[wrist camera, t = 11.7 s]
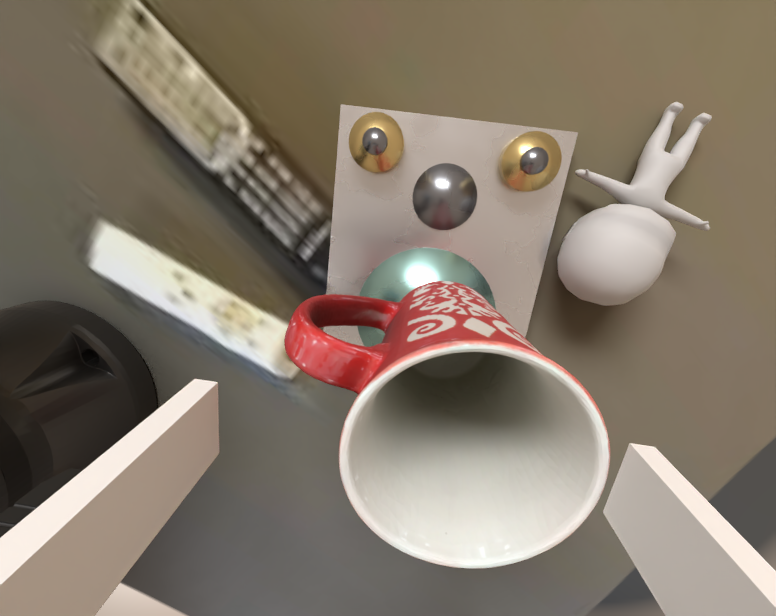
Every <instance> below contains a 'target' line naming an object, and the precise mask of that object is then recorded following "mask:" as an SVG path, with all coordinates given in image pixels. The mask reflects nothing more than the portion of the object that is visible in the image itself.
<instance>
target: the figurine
mask: <svg viewBox="0 0 776 616" xmlns="http://www.w3.org/2000/svg"><path fill="white" fill-rule="evenodd" d="M682 109H683V105H682V104H681V103H678V102H674V103H672V104H671V105H669V106H668V107H667V108H666V109H665V110H664V113H663V115H662V118H661V120H660V122H659V124H658V126H657V128H656V129H655V131H654V132H653V134H652V135H651V137H650V138H649V140H648V141H647V143H646V145H645V147H644V149H643V151H642V154H641V156H640V158H639V160H638V161H637V169H636V172H635V175H634V177H633V180H632V181H631V183H630V185H627V184H624V183H621V182H619V181H616V180H613V179H611V178H608V177H605V176H602V175H599V174H596V173H593V172H589V170H588V169H586V170H576V171H575V174H576V175H577V176H579V177H581V178H583V179H585V180H587V181H589V182H591V183H593V184H595V185H597V186H599V187H600V188H602V189H603V190H605V191H606V192H608V193H609V194H611V195H612V196H613V197H614V198H616V199H617V200H618V201H619V202H620V203H622V204H610V205H608V206H607V207H603V208H599V209H595V210H593V211H591V212H590V213H588V214H586V215H585V216H583V217H581V218H579V219H578V221H577V222H576V223H574V224H573V225H572V226H571V228H570V229H569V230H568V232H567V233H566V235H565V236H564V237H563V239H562V241H563V243H562V245H561V248H560V251H559V255H558V258H557V265H558V275H559V277H560V279H561V281H562V282H563V284H564V286H565V287H566V289H567V290H568V291H570V292H571V293H572V294H574V295H575V296H576V297H578V298H579V299H581V300H585V301H589V302H592V303H596V304H600V305H604V306H608V305H620V304H625V303H627V302H628V301H630V300H632V299H633V298H635V297H637V296H638V295H640V294H642V293H643V292H645V291H647V290H648V289H649V288H650V287H651V286H652V284H653V283H654V282H655V281H656V279H657V278H658V277H659V276H660V274H661V272H662V269H663V266H664V263H665V260H666V258H667V255H668V253H669V251H670V248H671V246H672V244H673V241H674V238H675V235H676V232H675V231H674V229H673V227H672V226H671V224H670V223H669V221H667V220H666V219H664V218H663V217H665V218H669V219H673V220H676V221H679V222H681V223H684V224H687V225H690V226H692V227H695V228H698V229H700V230H705V231H708V230H709V229H710V227H709V225H708V224H709V222H708V221H702V220H701V219H699V218H697V217H695V216H693V215H692V214H690V213H688V212H686V211H684V210H682V209H680V208H678V207H676V206H674V205H672V204H670V203H668V202H667V201H665V193H666V191H667V189H668V187H669V185H670V184H671V183H672V181H673V180H674V179H675V178H676V176H677V175H678V174H679V173H680V172H681V171H682V169H683V168H684V167H685V165H686V162H687V161H688V159H689V157H690V155H691V153H692V151H693V148H694V146H695V143H696V141H697V139H698V136H699V134H700V132H701V130H702V128H703V127H704V126H705V125H707V124H708V123H709V122H710V121H711V115H709V114H706V113H702V114H700V115H699V116H697V117H695V118H694V119H693V120H692V121H691V123H690V125H689V128H688V130H687V131H686V133H685V134H684V135H683V136H682V137H681V138H680V139H679V140H678V141H677V143H676V144H675V145H674V147H673V148H672V150H671V152H670V153H667V152H665V151H664V148H665V146H666V144H667V141H668V139H669V136H670V132H671V127H672V124H673V121H674V119H675V117H676V116H677V115H678V114H679V113H680V112H681V111H682Z"/></svg>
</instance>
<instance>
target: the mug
mask: <svg viewBox="0 0 776 616" xmlns="http://www.w3.org/2000/svg"><path fill="white" fill-rule="evenodd" d="M328 326H367V327H374V328H378V329H380V330H382V331H384V333H385V336H384V338H383V341H382V343H381V344H377V345H374V346H372V347H365V346H360V345H355V344H351V343H348V342H345V341H343V340H340V339H337V338H335V337H333V336H331V335H329V334H327V333H325V332H324V331H323V330H321V329H320V327H328ZM285 349H286V353H287V355H288V356H289V358H290V359H291V360H292V361H293V363H294V364H295V365H296V366H297V367H299V368H300V369H301V370H302V371H303V372H305V373H306V374H308V375H310V376H312V377H313V378H315V379H318V380H320V381H323V382H325V383H328V384H331V385H334V386H338V387H342V388H346V389H348V390H351V391H354V392H356V393H357V394H358V396H357V398H356V399H355V401H354V403H353V405H352V407H351V408H350V410H349V412H348V414H347V417H346V419H345V422H344V426H343V429H342V433H341V438H340V444H339V468H340V476H341V479H342V483H343V487H344V489H345V492H346V494H347V496H348V498H349V500H350V502H351V504H352V506H353V508H354V509H355V511H356V512H357V514H358V515H359V517H360V518H361V519H362V520H363V522H364V523H365V524H366V525H367V526H368V527H369V528H370V529H371V530H372V531H373V532H374V533H376V534H377V535H378V536H379V537H380V538H381V539H383V540H384V541H386V542H387V543H389V544H390V545H392V546H393V547H395V548H397V549H399V550H400V551H402V552H404V553H406V554H408V555H411V556H413V557H415V558H418V559H421V560H424V561H427V562H431V563H434V564H439V565H444V566H449V567H455V568H492V567H498V566H503V565H508V564H512V563H516V562H520V561H523V560H526V559H529V558H531V557H534V556H536V555H538V554H540V553H543V552H545V551H547V550H549V549H551V548H552V547H554V546H556V545H557V544H559V543H560V542H562V541H563V540H564V539H566V538H567V537H569V536H570V535H571V534H572V533H573V532H574V531H575V530H576V529H577V528H578V527H579V526H580V525H581V524H582V523H583V522H584V521H585V519H586V518H587V517H588V516H589V514H590V513H591V512H592V510H593V508H594V507H595V505H596V504H597V502H598V501H599V498H600V496H601V494H602V492H603V489H604V486H605V483H606V480H607V476H608V470H609V464H610V442H609V438H608V433H607V429H606V426H605V423H604V420H603V417H602V415H601V413H600V411H599V409H598V407H597V405H596V403H595V402H594V400H593V398H592V397H591V395H590V394H589V392H588V391H587V390H586V389H585V388H584V387H583V385H582V384H581V383H580V382H579V381H578V380H577V379H576V378H575V377H574V376H573V375H571V374H570V373H569V372H567V371H566V370H565V369H564V368H563V367H561V366H560V365H558V364H557V363H555V362H554V361H552V360H550V359H548V358H547V357H545V356H543V355H542V354H541V353H540V352H539V351H538V350H537V349H536V348H535V347H534V346H533V345H532V344H531V343H530V342H528V341H527V340H526V339H525V338H524V337H523V336H522V335H521V334H520V333H519V332H518V331H517V330H516V329H515V328H514V327H513V326H511V325H510V323H509V322H508V321H507V320H506V319H505V318H504V317H503V316H502V315H501V314H499V313H498V312H497V311H496V310H495V309H494V308H493V307H492V306H491V305H490V304H489V302H488V301H487V300H486V299H485V298H484V297H483V296H482V295H481V294H479V293H478V292H477V291H475V290H474V289H472V288H470V287H468V286H466V285H463V284H460V283H457V282H451V281H436V282H430V283H426V284H424V285H421V286H419V287H417V288H415V289H413V290H412V291H410V292H409V293H408V294H407V295H406V296H404V297H403V299H402V300H401V301H400V302H392V301H386V300H382V299H377V298H370V297H363V296H354V295H340V294H329V295H320V296H315V297H312V298H310V299H307V300H306V301H304V302H303V303H301V304H300V305H299V306H298V307H297V309H296V310H295V312H294V314H293V315H292V317H291V320H290V322H289V325H288V328H287V331H286V335H285Z"/></svg>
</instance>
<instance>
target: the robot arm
mask: <svg viewBox="0 0 776 616" xmlns="http://www.w3.org/2000/svg"><path fill="white" fill-rule="evenodd" d="M156 409H157V403H156V393H155V388H154V385H153V381H152V378H151V376H150V373H149V371H148V369H147V367H146V365H145V363H144V361H143V360H142V358H141V357H140V355H139V354H138V352H137V351H136V350H135V348H134V347H133V346H132V345H131V343H130V342H129V341H128V340H127V339H126V338H125V337H124V336H123V335H122V334H121V333H120V332H119V331H118V330H117V329H115V328H114V327H113V326H112V325H110V324H109V323H108V322H106V321H105V320H103V319H102V318H100V317H98V316H97V315H95V314H93V313H91V312H89V311H87V310H85V309H82V308H80V307H77V306H74V305H71V304H67V303H62V302H56V301H35V302H29V303H25V304H21V305H17V306H14V307H10V308H6V309H2V310H0V616H95V614H96V613H97V612H98V610H99V609H100V608H101V607H102V605H103V604H104V603H105V601H106V600H107V599H108V597H109V596H110V595H111V593H112V592H113V591H114V590H115V588H116V587H117V586H118V584H119V583H120V582H121V581H122V579H123V578H124V577H125V575H126V574H127V573H128V571H129V570H130V569H131V568H132V566H133V565H134V564H135V562H136V561H137V560H138V558H139V557H140V556H141V554H142V553H143V552H144V551H145V549H146V548H147V547H148V545H149V544H150V543H151V541H152V540H153V539H154V538H155V536H156V535H157V534H158V532H159V531H160V530H161V528H162V527H163V526H164V525H165V523H166V522H167V521H168V519H169V518H170V517H171V515H172V514H173V513H174V511H175V510H176V509H177V508H178V506H179V505H180V504H181V502H182V501H183V500H184V498H185V497H186V496H187V495H188V493H189V492H190V491H191V489H192V488H193V487H194V485H195V484H196V483H197V481H198V480H199V479H200V478H201V476H202V475H203V474H204V472H205V471H206V470H207V468H208V467H209V466H210V465H211V463H212V462H213V461H214V459H215V458H216V457H217V455H218V454H219V411H218V382H213V381H206V380H199V379H194V380H193V381H191V382H190V383H189V384H188V385H187V386H185V387H184V388H183V389H182V390H180V391H179V392H178V393H177V394H176V395H174V396H173V397H172V398H171V399H169V400H168V401H167V402H166V403H165V404H163V405H162V406H161V407H160V408H158V409H157V410H156ZM603 513H604V515H605V516H606V518H607V520H608V521H609V523H610V525H611V526H612V528H613V530H614V531H615V533H616V535H617V536H618V538H619V540H620V541H621V543H622V545H623V546H624V548H625V549H626V551H627V553H628V554H629V556H630V558H631V559H632V561H633V563H634V564H635V566H636V568H637V569H638V571H639V572H640V574H641V576H642V578H643V579H644V581H645V582H646V584H647V586H648V587H649V589H650V591H651V592H652V594H653V596H654V597H655V599H656V600H657V602H658V604H659V606H660V607H661V609H662V610H663V612H664V614H665V615H666V616H776V571H775V570H774V569H773V568H772V567H771V566H770V565H769V564H768V563H767V562H766V561H765V560H764V559H763V558H762V557H761V556H760V555H759V554H758V553H757V552H756V550H754V548H753V547H752V546H751V545H750V544H749V543H747V541H746V540H745V539H744V538H743V537H742V536H741V535H740V534H739V533H738V532H737V531H736V530H735V529H734V528H733V527H732V526H731V525H730V524H729V523H728V522H727V521H726V520H725V519H724V518H723V517H722V516H721V515H720V514H719V513H718V512H717V510H716V509H715V508H714V507H713V506H712V505H711V504H710V503H709V502H708V501H707V500H706V499H705V498H704V497H703V496H702V495H701V494H700V493H699V492H698V491H697V490H696V489H695V488H694V487H693V486H692V485H691V484H690V483H689V482H688V481H687V480H686V479H685V478H684V477H683V476H682V475H681V474H680V473H679V472H678V470H677V469H676V468H675V467H674V466H673V465H672V464H671V463H670V462H669V461H668V460H667V459H666V458H665V457H664V456H663V455H662V454H661V453H660V452H659V451H658V450H657V449H656V448H655V447H652V446H645V445H638V444H631V443H630V444H629V446H628V449H627V451H626V454H625V457H624V459H623V462H622V464H621V467H620V469H619V472H618V475H617V477H616V480H615V482H614V485H613V487H612V490H611V493H610V495H609V498H608V500H607V503H606V506H605V508H604V511H603Z"/></svg>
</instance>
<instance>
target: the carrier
mask: <svg viewBox="0 0 776 616" xmlns="http://www.w3.org/2000/svg"><path fill="white" fill-rule="evenodd" d="M577 135H578V133H577V132H569V131H560V130H552V129H544V128H535V127H527V126H518V125H510V124H501V123H493V122H485V121H476V120H468V119H459V118H451V117H442V116H434V115H426V114H417V113H409V112H400V111H392V110H383V109H375V108H367V107H358V106H350V105H341V111H340V124H339V137H338V150H337V163H336V176H335V189H334V202H333V215H332V228H331V241H330V254H329V267H328V280H327V293H326V295H329V294H340V295H354V296H363V297H370V298H377V299H382V300H386V301H392V302H400V301H401V300H402V299H403V297H404V296H406V295H407V294H408V293H409V292H410V291H412V290H413V289H415V288H417V287H419V286H421V285H424V284H426V283H430V282H436V281H451V282H457V283H460V284H463V285H466V286H468V287H470V288H472V289H474V290H475V291H477V292H478V293H479V294H481V295H482V296H483V297H484V298H485V299H486V300H487V301H488V302H489V304H490V305H491V306H492V307H493V308H494V309H495V310H496V311H497V312H498V313H499V314H501V315H502V316H503V317H504V318H505V319H506V320H507V321H508V322H509V323H510V325H511V326H513V327H514V328H515V329H516V330H517V331H518V332H519V333H520V334H521V335H522V336H523V337H524V338H525V337H526V333H527V329H528V325H529V321H530V317H531V314H532V310H533V306H534V302H535V298H536V294H537V290H538V286H539V282H540V279H541V275H542V271H543V267H544V263H545V259H546V255H547V251H548V247H549V244H550V240H551V236H552V232H553V228H554V224H555V220H556V216H557V212H558V208H559V205H560V201H561V197H562V193H563V189H564V185H565V181H566V177H567V173H568V170H569V166H570V162H571V158H572V154H573V150H574V146H575V142H576V138H577ZM324 332H325V333H327V334H329V335H331V336H333V337H335V338H337V339H340V340H343V341H345V342H348V343H351V344H355V345H360V346H365V347H372V346H374V345H377V344H381V343H382V341H383V338H384V336H385V333H384V331H382V330H380V329H378V328H374V327H367V326H328V327H324Z"/></svg>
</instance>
